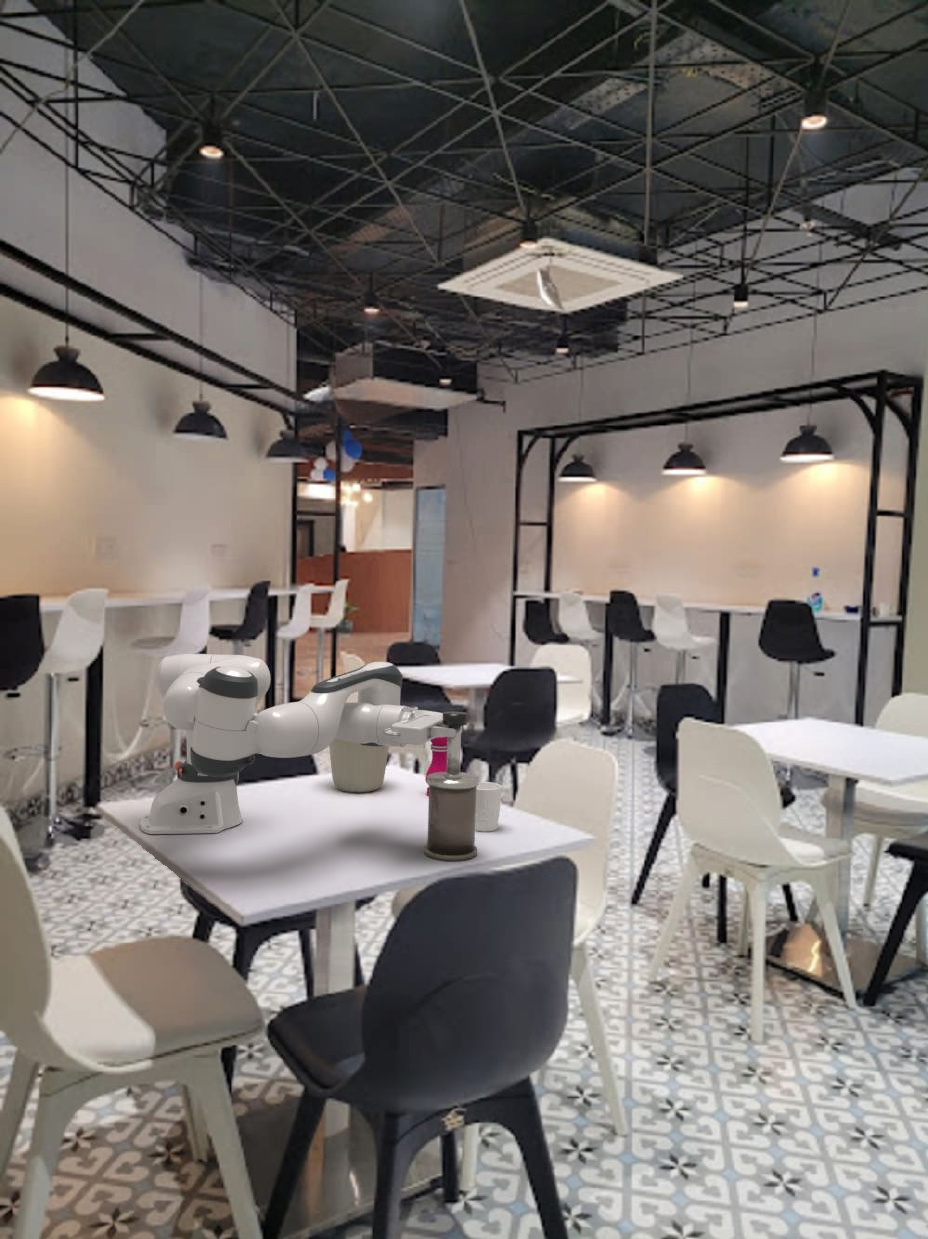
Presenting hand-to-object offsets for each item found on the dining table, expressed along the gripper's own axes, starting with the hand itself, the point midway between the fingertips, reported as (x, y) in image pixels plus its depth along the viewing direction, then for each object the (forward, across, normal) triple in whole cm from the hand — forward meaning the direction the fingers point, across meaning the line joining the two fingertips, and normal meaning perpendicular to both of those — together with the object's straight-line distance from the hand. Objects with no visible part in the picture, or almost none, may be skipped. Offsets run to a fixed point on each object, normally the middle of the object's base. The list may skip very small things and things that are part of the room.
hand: (458, 731), depth 190 cm
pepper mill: (-20, +46, +26) cm, 57 cm away
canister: (-42, +44, +26) cm, 66 cm away
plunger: (-1, 0, +9) cm, 9 cm away
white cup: (0, +21, +26) cm, 34 cm away
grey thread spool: (-1, 0, +26) cm, 26 cm away
